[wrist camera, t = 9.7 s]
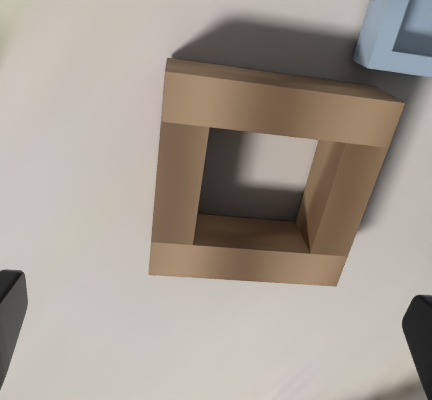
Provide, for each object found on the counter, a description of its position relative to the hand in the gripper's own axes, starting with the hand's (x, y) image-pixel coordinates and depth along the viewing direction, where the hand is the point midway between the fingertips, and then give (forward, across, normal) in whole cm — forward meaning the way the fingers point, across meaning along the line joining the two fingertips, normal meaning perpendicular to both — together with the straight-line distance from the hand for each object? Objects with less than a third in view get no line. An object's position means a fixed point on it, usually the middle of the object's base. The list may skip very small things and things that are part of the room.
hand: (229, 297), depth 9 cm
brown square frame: (+12, -3, +2) cm, 13 cm away
